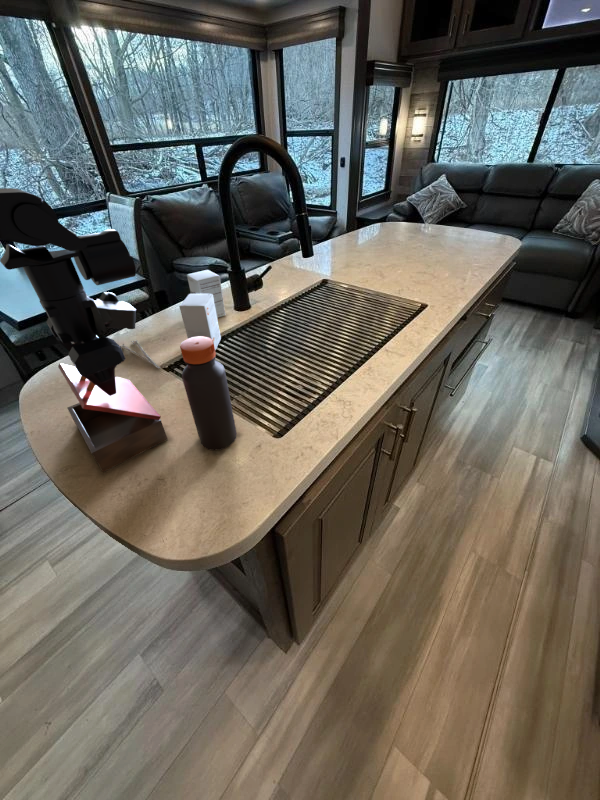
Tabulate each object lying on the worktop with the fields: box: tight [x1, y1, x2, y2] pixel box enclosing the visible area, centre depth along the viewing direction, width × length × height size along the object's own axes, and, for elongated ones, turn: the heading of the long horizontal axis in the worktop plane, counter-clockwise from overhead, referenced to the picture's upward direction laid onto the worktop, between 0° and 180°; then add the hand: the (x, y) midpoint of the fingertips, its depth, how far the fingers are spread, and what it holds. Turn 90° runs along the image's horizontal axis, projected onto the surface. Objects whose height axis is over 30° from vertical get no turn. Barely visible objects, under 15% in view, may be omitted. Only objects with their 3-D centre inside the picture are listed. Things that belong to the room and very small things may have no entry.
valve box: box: [67, 402, 169, 473], centre depth 62 cm, size 12×16×5 cm
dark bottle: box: [179, 336, 237, 451], centre depth 56 cm, size 7×7×20 cm
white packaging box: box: [186, 269, 227, 319], centre depth 101 cm, size 7×7×13 cm
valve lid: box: [58, 362, 162, 420], centre depth 58 cm, size 12×16×5 cm
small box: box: [179, 293, 222, 351], centre depth 86 cm, size 8×6×13 cm
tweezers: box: [119, 339, 161, 370], centre depth 85 cm, size 17×5×2 cm, turn 47°
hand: (103, 382), depth 57 cm, fingers open, 9 cm apart
